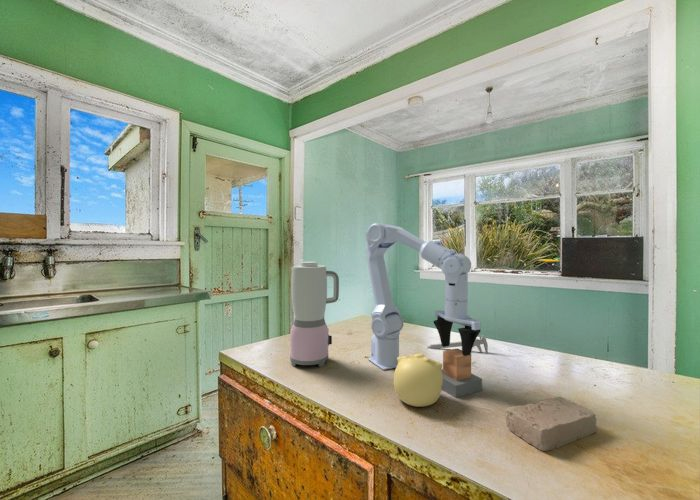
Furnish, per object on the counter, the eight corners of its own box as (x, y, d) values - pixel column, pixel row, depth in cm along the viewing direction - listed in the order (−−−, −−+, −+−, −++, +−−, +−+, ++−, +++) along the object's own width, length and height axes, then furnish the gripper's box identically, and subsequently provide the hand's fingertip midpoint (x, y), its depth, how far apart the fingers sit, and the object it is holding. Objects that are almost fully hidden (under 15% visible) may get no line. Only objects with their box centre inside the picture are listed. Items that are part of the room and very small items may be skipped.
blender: (287, 369, 93) (286, 263, 93) (292, 355, 106) (291, 261, 105) (339, 368, 94) (339, 263, 94) (338, 354, 107) (338, 260, 106)
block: (442, 373, 84) (443, 351, 83) (457, 370, 86) (457, 348, 86) (456, 380, 79) (456, 357, 79) (471, 377, 81) (471, 354, 81)
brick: (557, 412, 70) (557, 392, 70) (599, 434, 62) (599, 410, 62) (503, 430, 64) (503, 407, 64) (542, 456, 56) (542, 430, 56)
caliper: (487, 353, 108) (487, 335, 108) (487, 354, 107) (487, 336, 107) (426, 348, 113) (426, 330, 113) (426, 349, 112) (426, 331, 112)
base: (431, 382, 84) (431, 371, 84) (456, 376, 88) (456, 366, 88) (455, 397, 76) (455, 385, 76) (482, 390, 80) (482, 378, 80)
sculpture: (445, 393, 79) (445, 351, 78) (437, 417, 68) (438, 368, 67) (400, 385, 83) (401, 345, 83) (387, 406, 72) (387, 360, 72)
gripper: (489, 303, 78) (489, 356, 78) (448, 294, 91) (447, 340, 91) (468, 305, 75) (468, 361, 75) (429, 296, 88) (428, 343, 88)
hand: (455, 350), depth 83 cm, fingers open, 7 cm apart
